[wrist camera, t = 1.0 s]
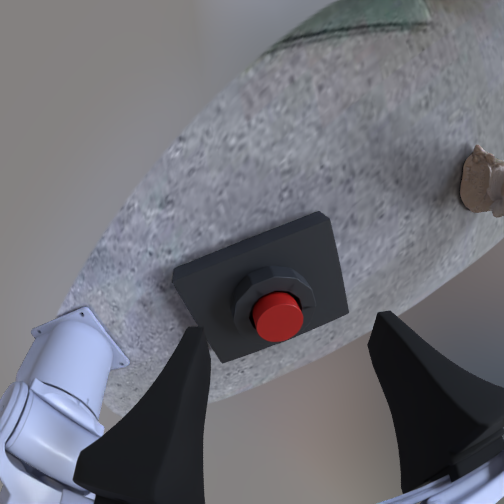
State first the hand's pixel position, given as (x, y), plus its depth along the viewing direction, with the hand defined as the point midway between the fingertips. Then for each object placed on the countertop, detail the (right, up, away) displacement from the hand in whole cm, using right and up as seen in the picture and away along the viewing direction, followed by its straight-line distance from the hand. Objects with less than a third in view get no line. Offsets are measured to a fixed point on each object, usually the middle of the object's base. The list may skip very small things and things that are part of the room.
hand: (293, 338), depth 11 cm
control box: (0, 0, +14) cm, 14 cm away
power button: (0, -1, +11) cm, 11 cm away
